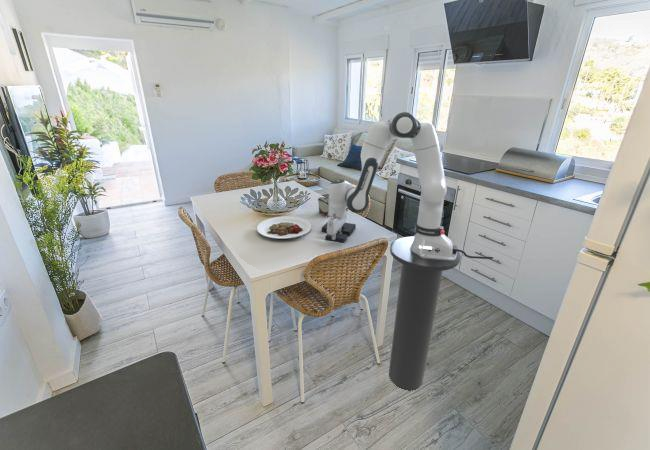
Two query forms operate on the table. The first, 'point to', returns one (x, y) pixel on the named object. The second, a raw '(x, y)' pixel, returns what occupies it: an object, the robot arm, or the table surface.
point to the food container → (323, 206)
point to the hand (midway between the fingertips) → (336, 236)
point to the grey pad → (337, 238)
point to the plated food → (284, 227)
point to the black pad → (343, 228)
